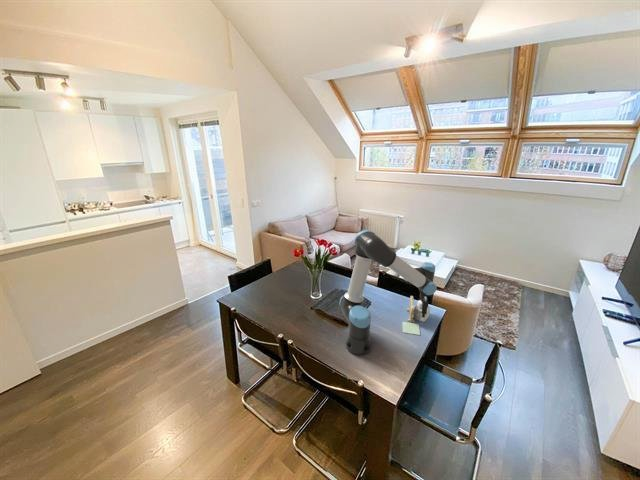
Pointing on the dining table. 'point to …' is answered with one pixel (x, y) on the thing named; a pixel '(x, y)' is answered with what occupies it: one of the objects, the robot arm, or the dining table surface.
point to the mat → (411, 328)
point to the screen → (411, 310)
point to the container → (418, 311)
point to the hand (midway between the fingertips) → (421, 314)
